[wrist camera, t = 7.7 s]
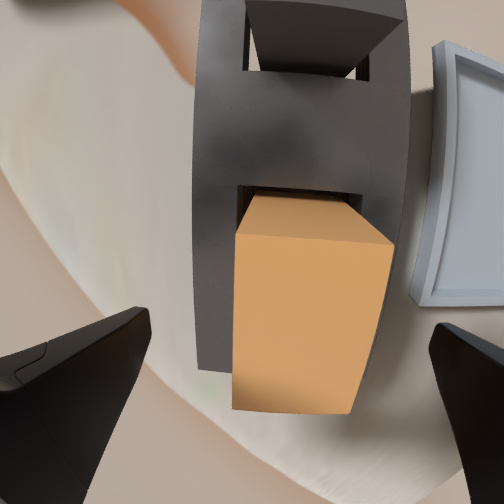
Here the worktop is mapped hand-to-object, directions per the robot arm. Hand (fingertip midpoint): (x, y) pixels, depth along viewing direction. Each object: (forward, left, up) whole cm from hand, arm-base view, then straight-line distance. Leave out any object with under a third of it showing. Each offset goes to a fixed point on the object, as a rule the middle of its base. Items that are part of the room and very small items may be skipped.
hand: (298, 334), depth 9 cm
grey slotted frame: (+6, 0, -8) cm, 10 cm away
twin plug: (+12, 0, -8) cm, 14 cm away
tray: (+5, -13, -8) cm, 16 cm away
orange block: (0, 0, -8) cm, 8 cm away
